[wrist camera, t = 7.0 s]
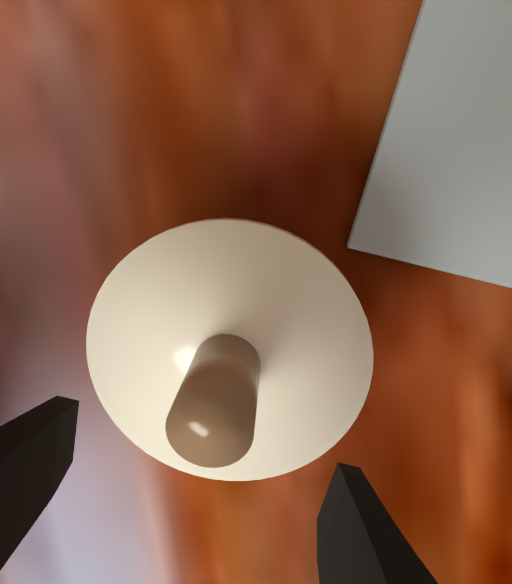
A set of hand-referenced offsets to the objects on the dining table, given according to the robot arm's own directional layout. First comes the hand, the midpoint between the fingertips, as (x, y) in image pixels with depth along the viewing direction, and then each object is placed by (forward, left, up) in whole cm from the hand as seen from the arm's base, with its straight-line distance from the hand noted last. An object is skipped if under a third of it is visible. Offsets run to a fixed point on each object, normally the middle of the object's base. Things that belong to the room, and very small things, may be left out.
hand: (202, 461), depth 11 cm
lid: (0, 0, -6) cm, 6 cm away
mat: (-10, -11, -10) cm, 18 cm away
